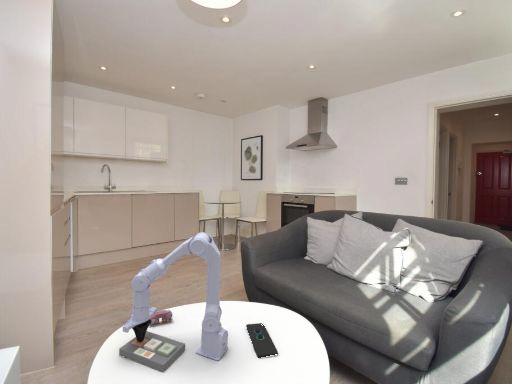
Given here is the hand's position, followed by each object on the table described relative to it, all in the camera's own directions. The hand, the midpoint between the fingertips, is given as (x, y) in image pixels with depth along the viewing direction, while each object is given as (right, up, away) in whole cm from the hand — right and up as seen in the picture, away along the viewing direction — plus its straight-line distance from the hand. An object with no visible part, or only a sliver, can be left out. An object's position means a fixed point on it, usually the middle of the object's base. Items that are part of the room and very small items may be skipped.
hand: (140, 340), depth 97 cm
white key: (+6, -1, -2) cm, 6 cm away
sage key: (+11, -2, -4) cm, 12 cm away
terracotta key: (0, -2, 0) cm, 2 cm away
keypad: (+5, -3, -2) cm, 7 cm away
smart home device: (+45, -6, +9) cm, 46 cm away
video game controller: (+1, -2, +17) cm, 18 cm away
